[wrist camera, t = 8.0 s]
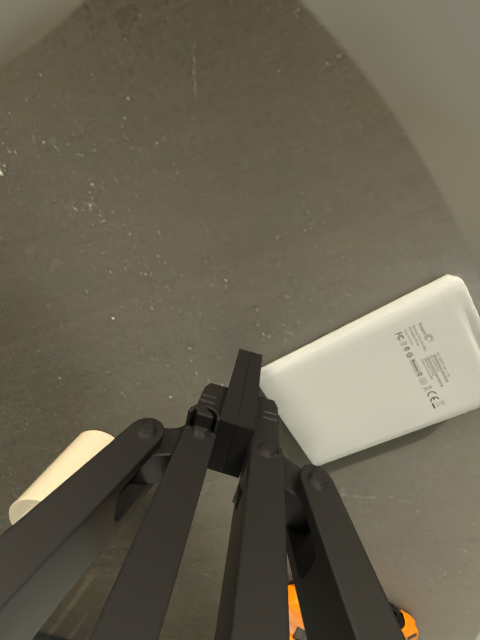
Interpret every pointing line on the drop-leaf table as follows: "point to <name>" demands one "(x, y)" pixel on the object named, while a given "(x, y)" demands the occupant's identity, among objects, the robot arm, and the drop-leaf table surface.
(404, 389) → the hard drive
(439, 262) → the drop-leaf table surface
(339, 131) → the drop-leaf table surface
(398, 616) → the toy car
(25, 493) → the salt shaker
